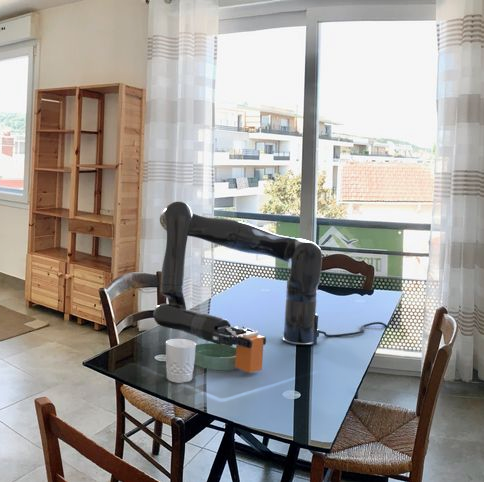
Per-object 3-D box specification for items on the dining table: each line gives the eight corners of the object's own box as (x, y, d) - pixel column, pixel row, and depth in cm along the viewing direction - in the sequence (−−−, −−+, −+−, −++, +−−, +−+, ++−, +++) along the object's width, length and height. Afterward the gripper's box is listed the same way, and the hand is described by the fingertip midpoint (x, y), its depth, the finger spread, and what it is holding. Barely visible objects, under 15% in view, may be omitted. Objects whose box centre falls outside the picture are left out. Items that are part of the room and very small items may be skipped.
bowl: (231, 355, 186) (231, 342, 186) (249, 371, 172) (250, 357, 171) (184, 355, 185) (184, 343, 185) (198, 372, 171) (198, 358, 170)
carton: (247, 364, 172) (249, 329, 171) (261, 369, 168) (264, 334, 167) (235, 367, 169) (236, 332, 168) (249, 373, 165) (251, 336, 164)
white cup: (161, 374, 169) (162, 338, 168) (189, 373, 170) (190, 338, 168) (169, 384, 161) (170, 347, 160) (198, 383, 162) (199, 347, 161)
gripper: (193, 318, 175) (241, 333, 161) (227, 312, 183) (276, 325, 169) (191, 344, 176) (239, 360, 162) (226, 336, 184) (274, 352, 170)
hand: (258, 342), depth 166 cm, fingers closed on carton, 5 cm apart
